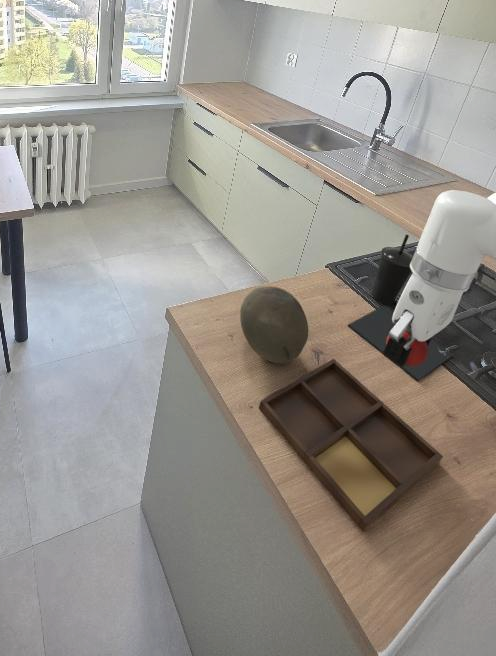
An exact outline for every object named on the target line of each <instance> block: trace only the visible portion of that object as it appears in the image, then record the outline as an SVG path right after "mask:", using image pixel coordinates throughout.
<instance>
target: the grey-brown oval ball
mask: <svg viewBox="0 0 496 656" xmlns="http://www.w3.org/2000/svg"><path fill="white" fill-rule="evenodd" d="M239 311H240V312H239V314H240V315H239V316H240V327H241V330H242V333H243V335H244V337H245V339H246V341H247V343H248V344H249V346H250V347H251V349H253V351H254V352H255V353H256V354H258V356H260V357H262V358H263V359H264V360H266V361H268V362H271V363H274V364H287V363H290V362H292V361H294V360H295V359H297V358H298V357H299V356H300V354H301V353H302V351H304V348H305V346H306V345H307V342H308V339H309V323H308V319H307V316H306V313H305V311H304V309H303V307H302V305H301V303H300V302H299V300H297V298H296V297H294V295H292V294H291V292H290V291H287V290H286V289H284V288H281V287H278V286H273V285H272V286H271V285H269V286H260V287H256V288H254V289H252V290H251V291H249V293H248V294H247V295H245V297H244V299H243V301H242V304H241V306H240V310H239Z"/></svg>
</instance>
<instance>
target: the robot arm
mask: <svg viewBox="0 0 496 656" xmlns="http://www.w3.org/2000/svg"><path fill="white" fill-rule="evenodd" d="M412 256H413V258H412V261H411V263H410V268H411V273H412V274H410V277H409V279H408V281H406V285H405V287H404V289H403V291H402V293H401V295H400V297H399V299H398V301H397V303H396V306H395V309H394V310H393V312H394V313H393V317H392V321H393V324H395V326H394V327H393V328H392V330H391V331H390V332H389V340H388V343H387V345H386V347H385V350H384V353H385V354H386V355H387V356H388V357H390V358H391V359H392V360H394V361H395V362H396V363H397V364H399V365H400V366H402V367H403V366H404V365H405V364H406V362H407V360H408V357H409V355H410V353H411V351H412V348H410V346H411V345H412V343H413V342H414V340H415V339H417V340H418V341H426V343H427V346H429V344H430V342H431V340H433V338H434V336H435V335H437V334H438V333H440V332H441V331H443V330H444V329H445V328H446V327H447V326H448V325H450V324H451V322H452V321H453V319H454V316H455V314H456V312H457V309H458V307H459V304H460V302H461V299H462V296H463V294H464V292H467V291H468V290H469V289H470V287H471V284H472V282H473V280H474V278H475V275H476V274H477V272H478V270H479V268H480V266H481V264H482V261H483V260H484V258H485V256H488V257H490V258H493V259H496V192H494V193H492V194H491V195H489V196H487V197H484V196H482V195H479V194H476V193H474V192H470V191H464V190H456V189H453V190H451V189H450V190H445V191H443V192H441V193H440V194H439V195H437V197H436V199H435V201H434V203H433V206H432V208H431V211H430V213H429V216H428V219H427V222H426V223H425V226H424V228H423V231H422V233H421V236H420V238H419V240H418V244H417V246H416V249H415V251H414V254H413V255H412ZM410 325H411V326H410ZM409 326H410V328H411V329H410V328H409ZM404 332H407V333H408V334H410V336H409V338H408V339H407V341H406V339H405V338H404V337H403V333H404ZM388 357H387V358H388Z"/></svg>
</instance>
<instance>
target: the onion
mask: <svg viewBox="0 0 496 656" xmlns="http://www.w3.org/2000/svg"><path fill="white" fill-rule="evenodd" d="M410 329H411V328H410ZM409 336H410V334H408V333H407V332H404V333H403V337H404V338H405V339H406V341H407V339H408V338H409ZM388 340H389V335H388V337H387V340H386V345H387V343H388ZM410 348H412V351H411V353H410V355H409V357H408V360H407V362H406V364H405V365H407V366H412V367H413V366H418V365H421V364H423V363H424V361H425V360H426V359H427V356H428V346H427V343H426V341H418V340H417V339H415V340H414V342H413V343H412V345H411V346H410Z"/></svg>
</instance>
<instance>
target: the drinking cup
mask: <svg viewBox="0 0 496 656" xmlns="http://www.w3.org/2000/svg"><path fill="white" fill-rule="evenodd" d="M409 237H410V235H409V234H405V235H404V238H403V241H402V243H401V246H400V248H398V247H393V246H385V247H383V248H381V250H380V258H379V263H378V267H377V271H376V276H375V279H374V283H373V287H372V292H371V297H372V298H373V299H374V300H375V301H376V302H378V304H379V303H380V304H382V305H384V306H385V305H386V306H391V305H393V304H394V302H395V300H396V298H397V297H398V295H399V293H400V291H401V290H402V288H403V286H404V285H405V284H406V282H407V280H408V278H409V276H410V275H411V273H412V271H411V268H410V263H411V261H412V258H413V256H414V255H412V254H411V253H409V252H408V251H406V250H405V247H406V245H407V242H408V240H409Z"/></svg>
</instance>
